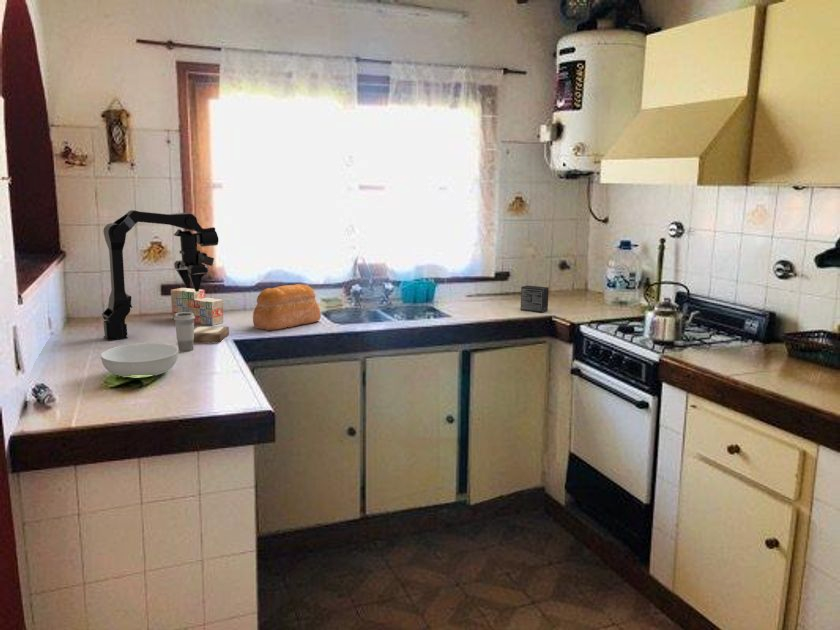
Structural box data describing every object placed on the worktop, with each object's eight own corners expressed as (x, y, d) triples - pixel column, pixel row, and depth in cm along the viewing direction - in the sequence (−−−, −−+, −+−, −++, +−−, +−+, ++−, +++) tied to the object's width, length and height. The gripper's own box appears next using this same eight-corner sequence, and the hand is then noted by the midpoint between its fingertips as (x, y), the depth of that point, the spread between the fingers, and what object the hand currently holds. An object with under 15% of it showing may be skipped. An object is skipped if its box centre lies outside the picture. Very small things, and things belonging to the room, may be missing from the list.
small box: (548, 310, 302) (549, 286, 300) (542, 313, 297) (543, 288, 295) (525, 308, 308) (526, 284, 306) (519, 310, 302) (520, 286, 300)
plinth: (185, 342, 239) (184, 333, 239) (195, 334, 251) (195, 325, 251) (220, 342, 240) (219, 333, 239) (229, 334, 251) (228, 326, 251)
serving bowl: (97, 387, 189) (95, 363, 188) (107, 367, 209) (106, 344, 208) (178, 382, 195) (176, 358, 194) (181, 362, 215) (179, 341, 213)
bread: (324, 321, 275) (324, 283, 272) (270, 332, 256) (269, 292, 253) (302, 317, 284) (301, 280, 281) (248, 327, 265) (247, 287, 262)
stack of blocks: (224, 323, 271) (222, 291, 269) (212, 326, 266) (210, 294, 264) (184, 317, 281) (182, 287, 279) (172, 320, 276) (170, 289, 273)
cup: (175, 347, 232) (172, 312, 230) (196, 346, 234) (194, 311, 232) (175, 353, 226) (173, 316, 223) (197, 351, 228) (195, 315, 225)
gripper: (220, 248, 253) (223, 290, 256) (201, 243, 267) (204, 284, 271) (189, 250, 246) (193, 294, 249) (172, 246, 261) (175, 287, 264)
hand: (192, 289), depth 259 cm, fingers open, 9 cm apart
